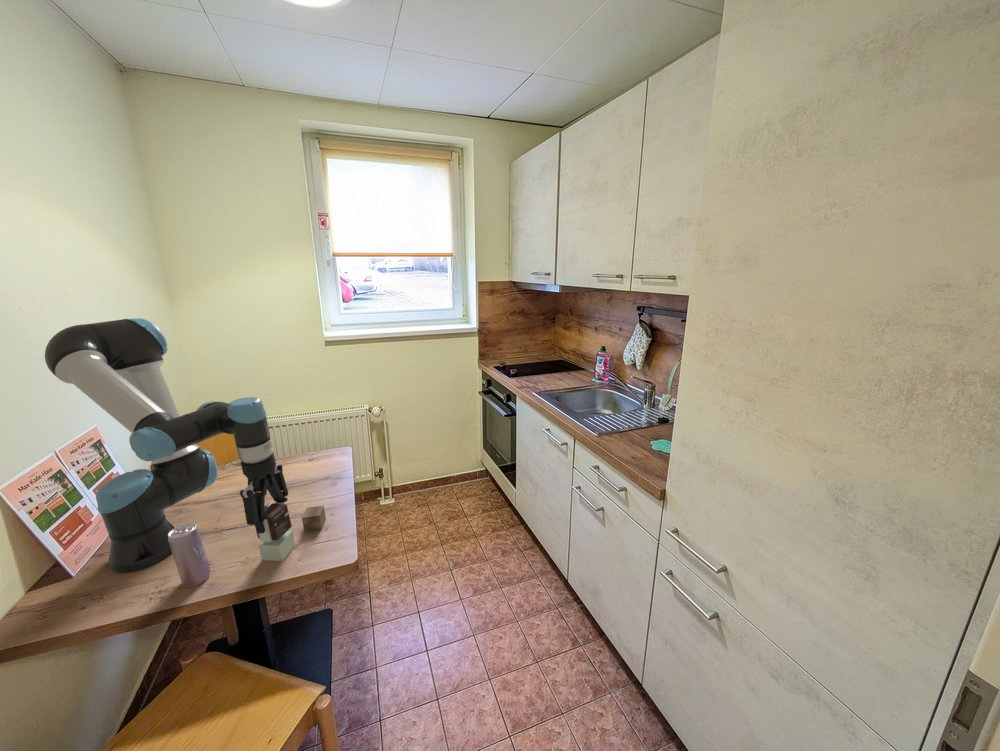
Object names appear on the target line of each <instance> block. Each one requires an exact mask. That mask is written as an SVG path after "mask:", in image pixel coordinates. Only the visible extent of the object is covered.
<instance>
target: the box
mask: <svg viewBox="0 0 1000 751" xmlns="http://www.w3.org/2000/svg"><path fill="white" fill-rule="evenodd" d="M275 503H276V502H268V503H267V504H266V505H265V509H264V519H267V521H268V525H269V530H270V534H271V538H272V540H278V539H279V538H280V537H281V536H282V535H284V534H285V533H286V532H287V531H290V529H291V528H292V522H291V517H290V512H289V509H288V504H285V503H284V504H275ZM254 527H255V526H254ZM255 529H256V527H255ZM255 533H256V535H257V539H259V540H260V537H259V533H257V531H256V532H255Z"/></svg>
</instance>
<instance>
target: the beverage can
mask: <svg viewBox="0 0 1000 751" xmlns="http://www.w3.org/2000/svg"><path fill="white" fill-rule="evenodd" d="M168 542H169V545H170V548H171V551H172V553H171V554H172V556H173V560H174V563H175V566H176V568H177V572H178V574H179V578H180V581H181V585H183V586H184V587H188V588H189V587H190V588H191V587H195V586H198V585H201V584H202V583H204V582H206V580H208V578H209V576H210V574H211V568H210V564H209V560H208V557H207V553H206V550H205V546H204V544H203V540H202V537H201V533H200V530H199V528H198V526H197V524H196V523H194V522H188V523H184V524H180V525H177V526H176V527H175V528H174V529H173V530H171V531H170V532H169V533H168Z"/></svg>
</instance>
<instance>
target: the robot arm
mask: <svg viewBox="0 0 1000 751" xmlns="http://www.w3.org/2000/svg"><path fill="white" fill-rule="evenodd" d="M167 346H168V342H167V339H166V337H165V335H164V333H163V332H162V330H161V329H160V328H159V327H158V326H157V325H156V324H155V323H153V322H152V321H151V320H149V319H147V318H139V317H137V318H122V319H116V320H108V321H100V322H95V323H93V322H92V323H86V324H83V323H82V324H75V325H72V326H71V325H70V326H68V327H66V328H63V329H62V330H60V331H58V332H57V333H55V334H54V335H53V336H52V337H51V338H50V339H49V341H48V342H47V344H46V347H45V350H44V361H45V363H46V367H47V368H48V370H49V371H50V372H51V374H52V375H54V376H55V377H56V378H57V379H59V380H60V381H61V382H63V383H66V384H71V385H74V386H75V387H76V388H78V390H80V391H81V392H82V393H83V394H85V396H87V397H88V398H90V400H92V401H93V402H94V403H95V404H96V405H98V406H99V408H101V409H103V410H104V412H106V413H107V414H108V415H110V416H111V417H112V418H113V419H114V420H116V421H117V422H118V423H119V424H120V425H121V426H123V427H124V428H125V429H126V430H128V431H129V432H130V433H131V434H130V436H129V439H128V441H129V444H130V445H129V446H130V448H131V450H132V452H134V454H135V456H136V457H137V458H139V459H140V460H142V461H145V462H150V463H151V465H152V468H153V469H152V470H150V469H146V468H138V469H134V470H132V471H127V472H124V473H122V474H118V475H117V476H115V477H113V478H111V479H109V480H108V481H106V482H105V483H104V484H103V485H101V487H99V489H98V490H97V492H96V494H95V500H96V503H97V510H98V512H99V513H100V515H101V518H102V521H103V523H104V526H105V528H106V531H107V533H108V537H109V539H110V545H109V546H110V547H109V557H108V564H109V566H110V568H111V570H112V571H113V572H114V573H115V572H116V573H130V572H135V571H139V570H142V569H145V568H148V567H151V566H152V565H155V564H158V563H159V562H161V561H162V560H164V559H166V558H168V556H170V555H171V554H172V551H171V548H170V545H169V542H168V533H169V532H170V531H171V530H173V529H174V528H176V527H175V526H174V525H173V524H172V523H171V522H170V521H169V520H168V519H167V517H166V514H165V510H166V509H168V508H170V507H172V506H173V505H176V504H178V503H179V502H182V501H184V500H185V499H187V498H190V497H191V496H193V495H196V494H197V493H200V492H202V491H203V490H205V489H207V488H208V487H210V486H212V485H213V484H214V483H215V481H216V480H217V478H218V465H217V462H216V459H215V457H214V456H213V455H212V452H210V451H209V450H207V449H201V448H200V447H201V446H200V445H198V443H201V442H204V441H207V440H209V439H211V438H214V437H216V436H219V435H222V434H228V435H233V439H234V442H235V446H236V451H237V455H238V459H239V461H240V467H241V470H242V475H244V477H246V478H247V487H246V488H245V489H241V490H240V492H239V496H240V497H241V498H242V503H243V507H244V508H243V510H244V513H245V520H246V524H247V526H248V525H250V526H254V527H256V528H255V530H256V531H257V532H256V534H257V533H259V537H260V539H259V541H260V542H262V541H263V542H270V541H271V540H272V538H271V534H270V530H269V525H268V521H267V519H264V509H265V506H266V505H265V504H266V503H265V502H266V500H265V499H266V498H265V497H266V495H267V492H268V493H269V495H270V496H271V498H272V500H273V501H274V503H275V504H285V503H286V502H288V495H289V491H288V486H287V483H286V480H285V476H284V473H283V465H282V464H277V463H276V458H275V453H273V452H274V449H273V444H272V441H271V434H270V429H269V425H268V424H269V423H268V419H267V413H266V410H265V408H264V403H263V401H262V399H260V398H258V397H254V396H250V397H249V396H248V397H241V398H237V399H234V400H231V401H230V402H225V401H207V402H205V403H202V404H201V405H200V406H199V407H198V408H197V409H196V410H195V411H192V412H189V413H186V414H183V415H180V413H179V410H178V408H177V407H176V406H177V405H176V403H175V402H174V399H173V397H172V394H171V392H170V389H169V387H168V385H167V382H166V380H165V378H164V375H163V373H162V370H161V366H162V365H163V363H164V358H163V356H164V355H166V354H167V352H168V347H167Z"/></svg>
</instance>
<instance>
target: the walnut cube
mask: <svg viewBox="0 0 1000 751" xmlns="http://www.w3.org/2000/svg"><path fill="white" fill-rule="evenodd" d="M326 519H327V517H326V511H325V507H324V505H318V506H309V507H308V506H307V507H306V508H305V511H304V512H303V515H302V517H301V521H302V526H303V530H304V532H311V531H319V530H323V528H324V525H325V523H326Z"/></svg>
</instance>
